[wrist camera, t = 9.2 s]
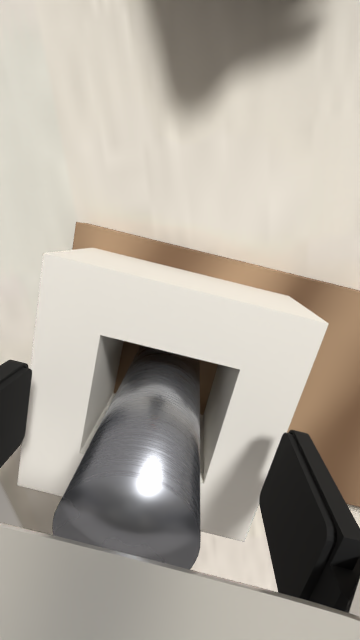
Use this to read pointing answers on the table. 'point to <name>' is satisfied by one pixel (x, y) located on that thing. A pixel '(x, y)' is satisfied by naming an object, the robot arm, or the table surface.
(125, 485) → the peg
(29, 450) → the socket
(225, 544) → the table surface
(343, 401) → the board
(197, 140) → the table surface
